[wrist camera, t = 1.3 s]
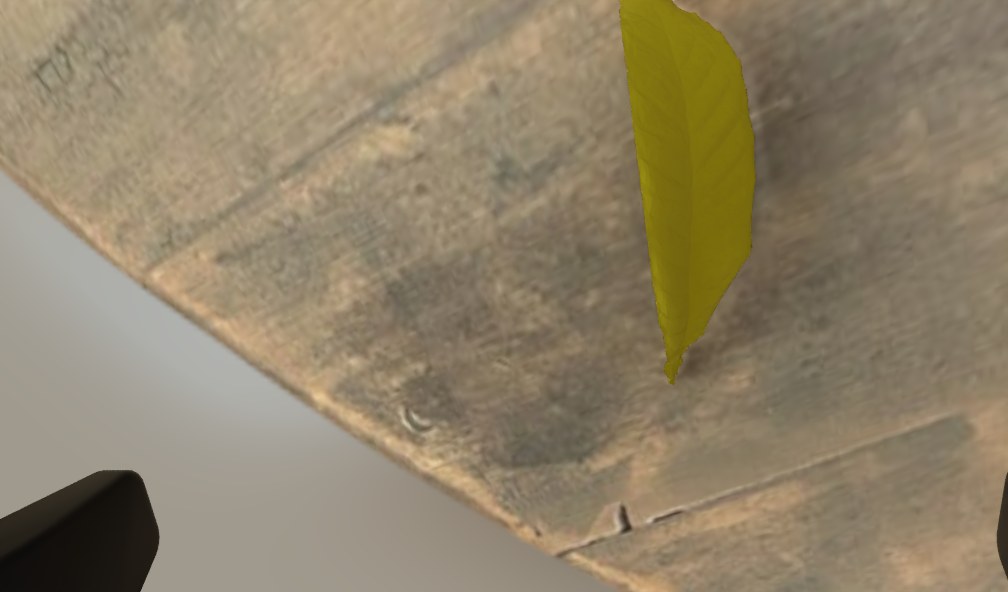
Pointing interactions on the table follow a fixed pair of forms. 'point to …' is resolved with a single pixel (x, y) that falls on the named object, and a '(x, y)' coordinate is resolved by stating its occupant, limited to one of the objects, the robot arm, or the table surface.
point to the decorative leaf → (688, 163)
